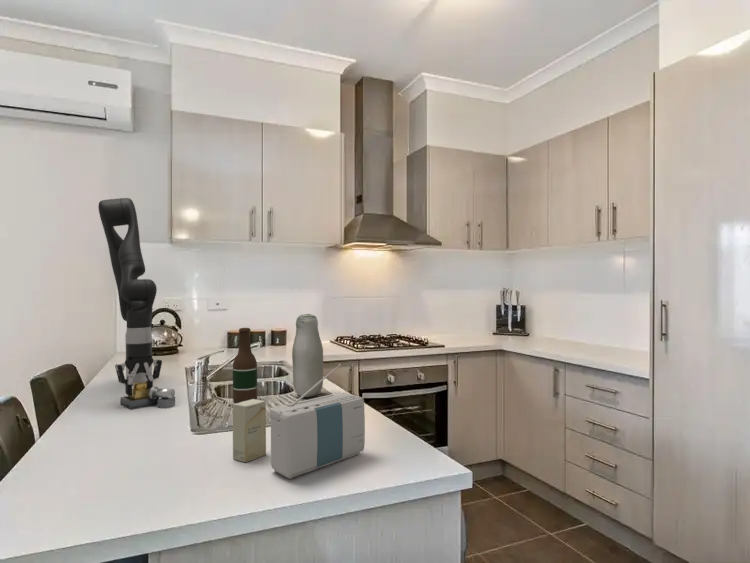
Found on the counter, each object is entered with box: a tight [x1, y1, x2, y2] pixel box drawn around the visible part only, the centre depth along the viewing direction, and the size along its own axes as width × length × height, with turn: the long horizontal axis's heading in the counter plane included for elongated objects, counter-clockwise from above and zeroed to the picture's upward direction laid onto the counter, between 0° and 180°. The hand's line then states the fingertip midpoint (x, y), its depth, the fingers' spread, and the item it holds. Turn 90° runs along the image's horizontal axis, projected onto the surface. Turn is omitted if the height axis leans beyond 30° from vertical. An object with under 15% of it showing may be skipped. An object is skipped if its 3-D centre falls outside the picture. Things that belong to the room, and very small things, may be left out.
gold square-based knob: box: [130, 382, 150, 401], centre depth 155 cm, size 4×4×6 cm
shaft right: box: [149, 385, 176, 409], centre depth 152 cm, size 7×4×6 cm, turn 76°
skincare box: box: [232, 399, 267, 463], centre depth 107 cm, size 6×4×12 cm
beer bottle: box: [232, 327, 258, 404], centre depth 157 cm, size 8×8×24 cm
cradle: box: [119, 395, 160, 411], centre depth 154 cm, size 9×9×2 cm
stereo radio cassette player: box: [268, 363, 366, 480], centre depth 103 cm, size 21×8×20 cm, turn 135°
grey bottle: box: [291, 313, 324, 398], centre depth 163 cm, size 10×10×28 cm
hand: (139, 393), depth 154 cm, fingers open, 5 cm apart
